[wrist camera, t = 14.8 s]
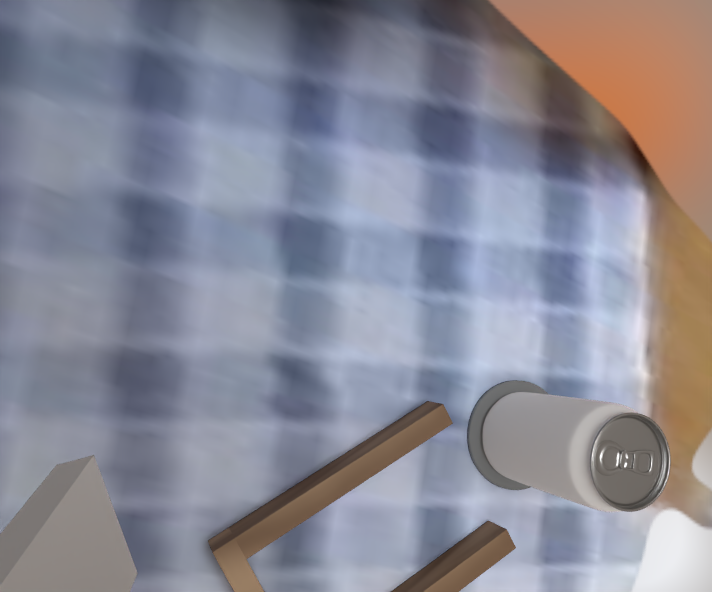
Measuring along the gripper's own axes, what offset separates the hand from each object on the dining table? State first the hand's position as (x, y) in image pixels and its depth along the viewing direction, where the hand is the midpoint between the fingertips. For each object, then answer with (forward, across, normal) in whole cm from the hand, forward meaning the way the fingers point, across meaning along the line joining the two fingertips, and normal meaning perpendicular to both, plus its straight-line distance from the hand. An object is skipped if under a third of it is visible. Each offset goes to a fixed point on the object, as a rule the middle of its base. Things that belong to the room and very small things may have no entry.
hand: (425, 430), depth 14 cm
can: (+34, +9, -18) cm, 39 cm away
